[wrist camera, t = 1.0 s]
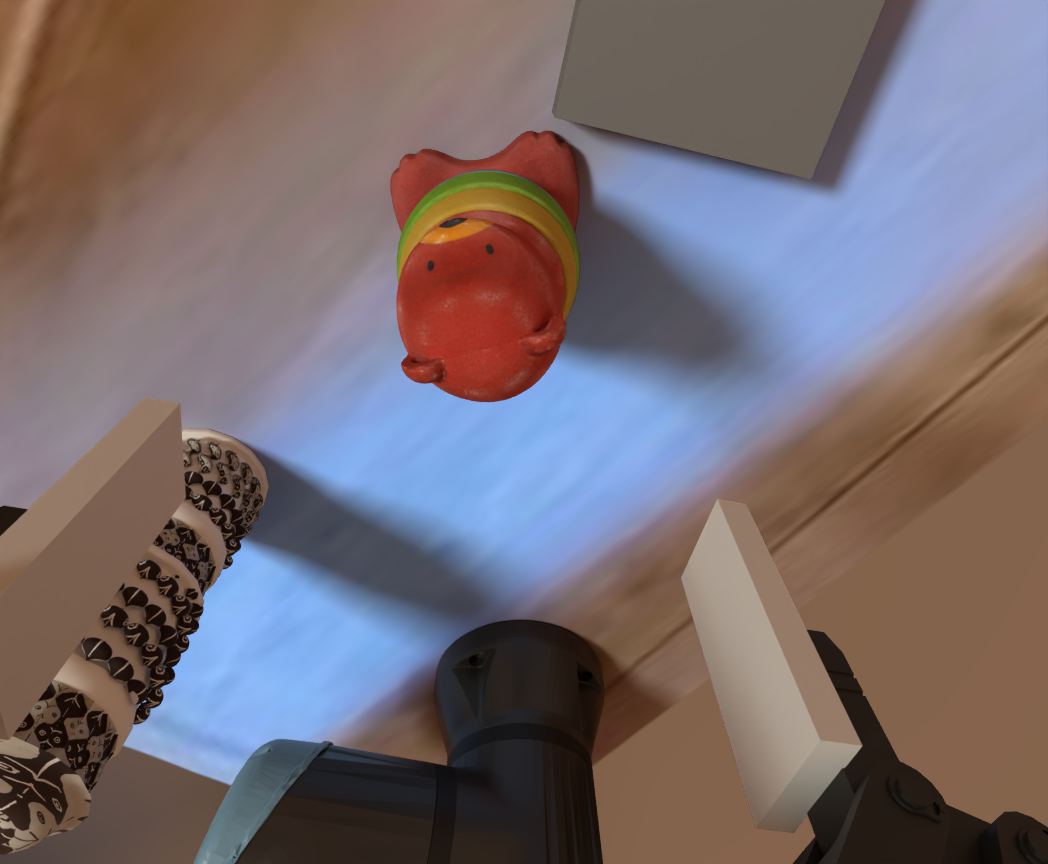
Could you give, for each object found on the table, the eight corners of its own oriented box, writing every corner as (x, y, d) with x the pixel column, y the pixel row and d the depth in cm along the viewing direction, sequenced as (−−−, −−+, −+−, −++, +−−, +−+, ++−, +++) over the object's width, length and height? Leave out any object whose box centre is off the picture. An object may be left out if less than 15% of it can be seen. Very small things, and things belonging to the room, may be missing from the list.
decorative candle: (139, 412, 46) (-201, 740, 24) (275, 435, 47) (66, 770, 25) (149, 515, 50) (-130, 868, 28) (272, 534, 51) (93, 889, 30)
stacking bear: (571, 123, 36) (610, 178, 21) (590, 296, 42) (632, 441, 26) (383, 155, 37) (289, 230, 22) (424, 321, 42) (370, 477, 27)
